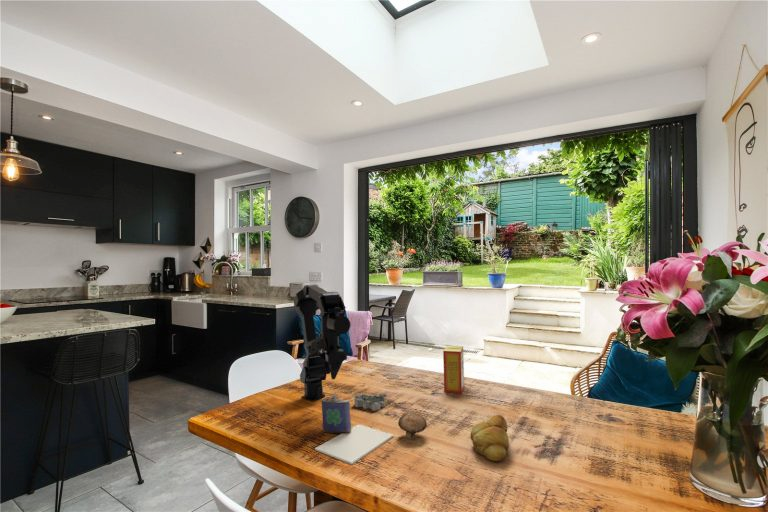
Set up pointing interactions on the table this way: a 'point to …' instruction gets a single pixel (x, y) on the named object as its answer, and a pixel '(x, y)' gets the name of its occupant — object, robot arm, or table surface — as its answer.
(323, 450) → the serving board
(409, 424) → the mushroom
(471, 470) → the table surface
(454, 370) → the baking soda box
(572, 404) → the table surface
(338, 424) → the flask
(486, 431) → the bread roll
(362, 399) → the egg carton
